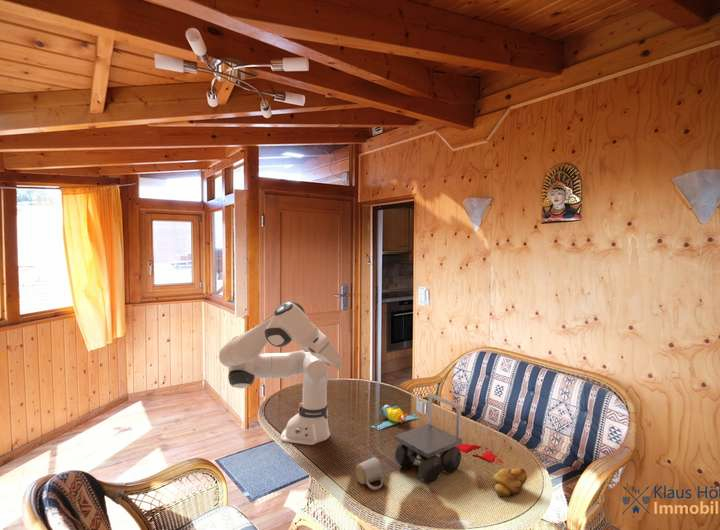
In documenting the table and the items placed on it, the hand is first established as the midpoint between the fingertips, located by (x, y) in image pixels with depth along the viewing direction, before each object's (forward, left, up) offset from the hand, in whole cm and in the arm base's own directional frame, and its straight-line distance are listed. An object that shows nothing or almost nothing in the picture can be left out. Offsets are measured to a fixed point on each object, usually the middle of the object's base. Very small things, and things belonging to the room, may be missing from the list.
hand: (335, 366), depth 149 cm
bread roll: (+62, +1, -44) cm, 76 cm away
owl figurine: (+23, +57, -45) cm, 76 cm away
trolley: (+35, +13, -44) cm, 58 cm away
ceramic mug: (+13, +3, -44) cm, 46 cm away
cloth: (+57, +28, -45) cm, 78 cm away
